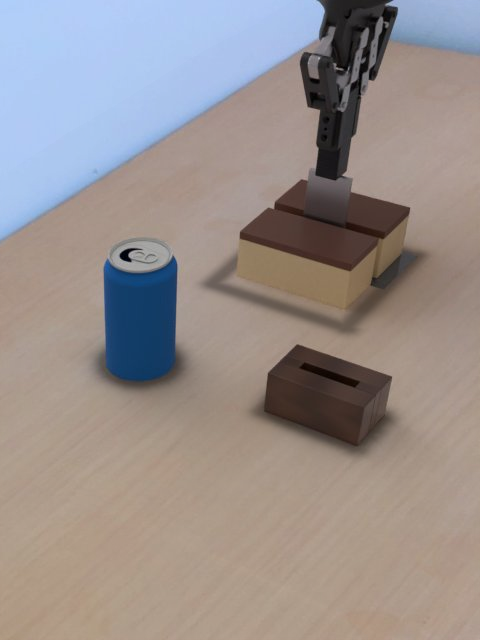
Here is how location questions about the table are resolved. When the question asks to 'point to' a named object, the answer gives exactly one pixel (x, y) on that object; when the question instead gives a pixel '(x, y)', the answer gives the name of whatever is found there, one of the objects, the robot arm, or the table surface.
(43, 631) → the table surface
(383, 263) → the block
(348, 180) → the knife
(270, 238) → the cake slice
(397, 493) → the table surface
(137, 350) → the beverage can
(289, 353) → the knife block
